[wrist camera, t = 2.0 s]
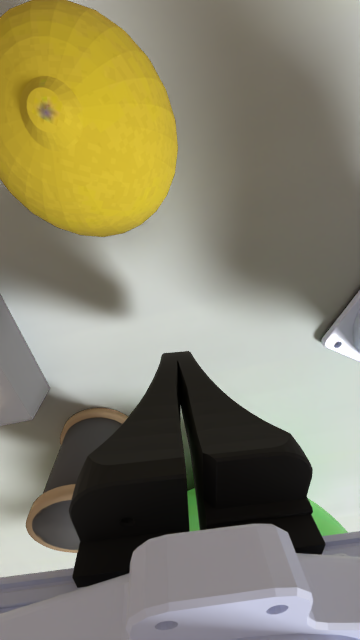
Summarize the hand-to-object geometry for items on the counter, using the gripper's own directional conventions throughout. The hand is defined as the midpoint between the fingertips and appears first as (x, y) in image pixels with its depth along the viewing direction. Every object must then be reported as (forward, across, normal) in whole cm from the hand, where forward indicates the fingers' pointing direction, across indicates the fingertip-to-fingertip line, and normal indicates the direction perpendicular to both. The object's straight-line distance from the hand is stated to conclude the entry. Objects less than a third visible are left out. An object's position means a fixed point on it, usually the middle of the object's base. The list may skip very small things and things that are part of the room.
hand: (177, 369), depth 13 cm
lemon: (+4, +2, -9) cm, 10 cm away
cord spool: (+4, +6, +8) cm, 11 cm away
